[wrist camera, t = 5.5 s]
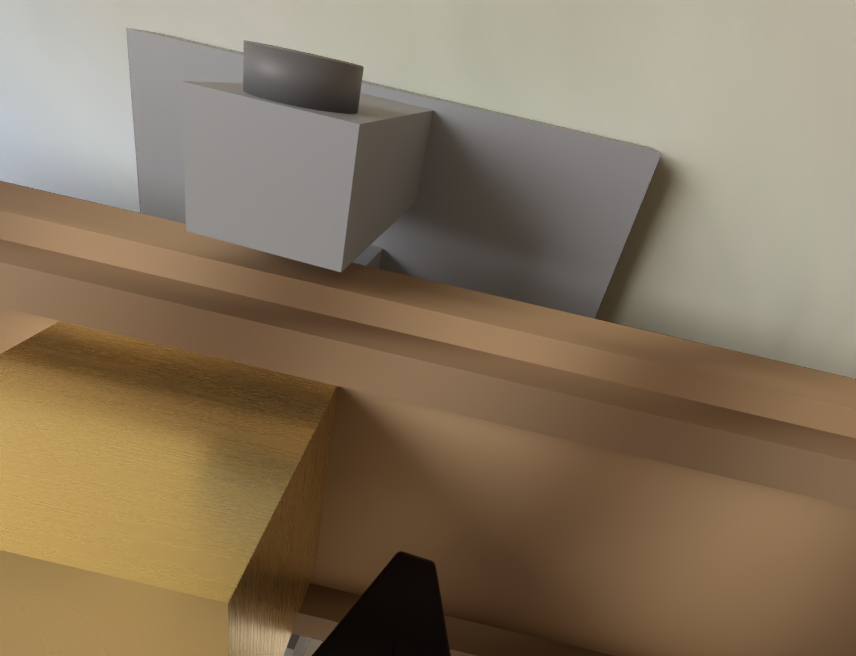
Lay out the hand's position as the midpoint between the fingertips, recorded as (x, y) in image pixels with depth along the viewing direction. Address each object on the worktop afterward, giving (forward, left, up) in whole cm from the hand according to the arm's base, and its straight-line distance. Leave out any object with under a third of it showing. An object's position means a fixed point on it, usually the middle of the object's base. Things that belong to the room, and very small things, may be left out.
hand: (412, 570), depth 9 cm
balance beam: (+3, 0, -2) cm, 4 cm away
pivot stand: (+3, 0, -7) cm, 7 cm away
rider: (+5, 0, -1) cm, 5 cm away
